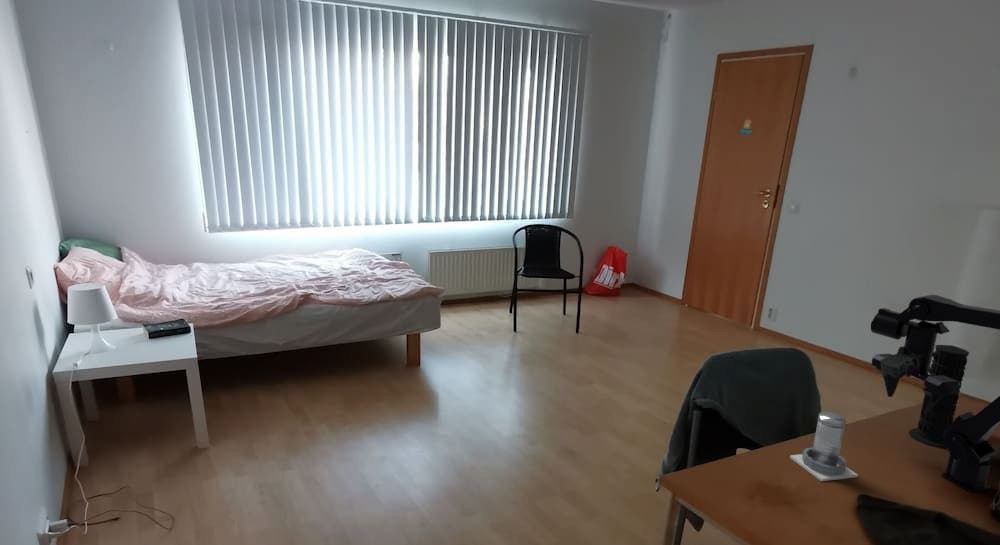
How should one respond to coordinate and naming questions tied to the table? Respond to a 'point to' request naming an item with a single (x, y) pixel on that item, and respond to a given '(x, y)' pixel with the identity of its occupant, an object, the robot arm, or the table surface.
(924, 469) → the table surface
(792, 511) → the table surface
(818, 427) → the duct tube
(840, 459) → the flange collar
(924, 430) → the handle grip
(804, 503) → the table surface
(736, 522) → the table surface
